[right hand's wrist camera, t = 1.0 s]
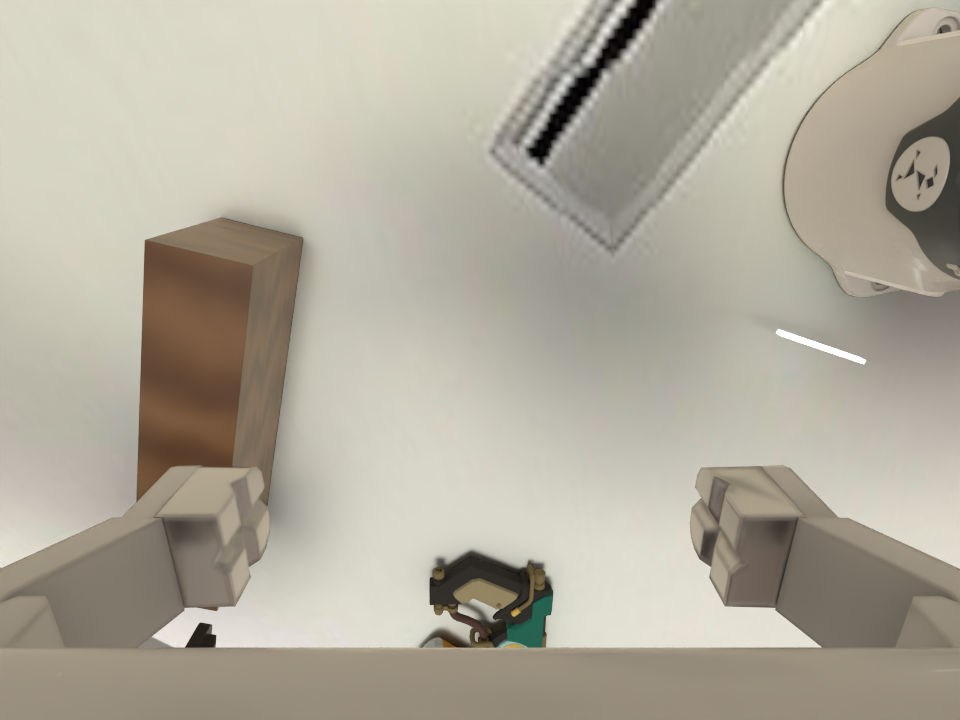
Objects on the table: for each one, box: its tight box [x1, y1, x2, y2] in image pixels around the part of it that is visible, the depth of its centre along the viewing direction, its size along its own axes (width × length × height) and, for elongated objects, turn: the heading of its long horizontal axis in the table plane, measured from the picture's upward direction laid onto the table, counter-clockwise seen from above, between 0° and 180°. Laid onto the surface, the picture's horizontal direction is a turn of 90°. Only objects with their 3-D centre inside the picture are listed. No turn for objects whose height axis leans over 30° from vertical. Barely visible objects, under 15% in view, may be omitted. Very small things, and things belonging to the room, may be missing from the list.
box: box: [137, 218, 303, 611], centre depth 40 cm, size 26×6×10 cm, turn 166°
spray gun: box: [423, 557, 553, 648], centre depth 53 cm, size 4×17×15 cm
